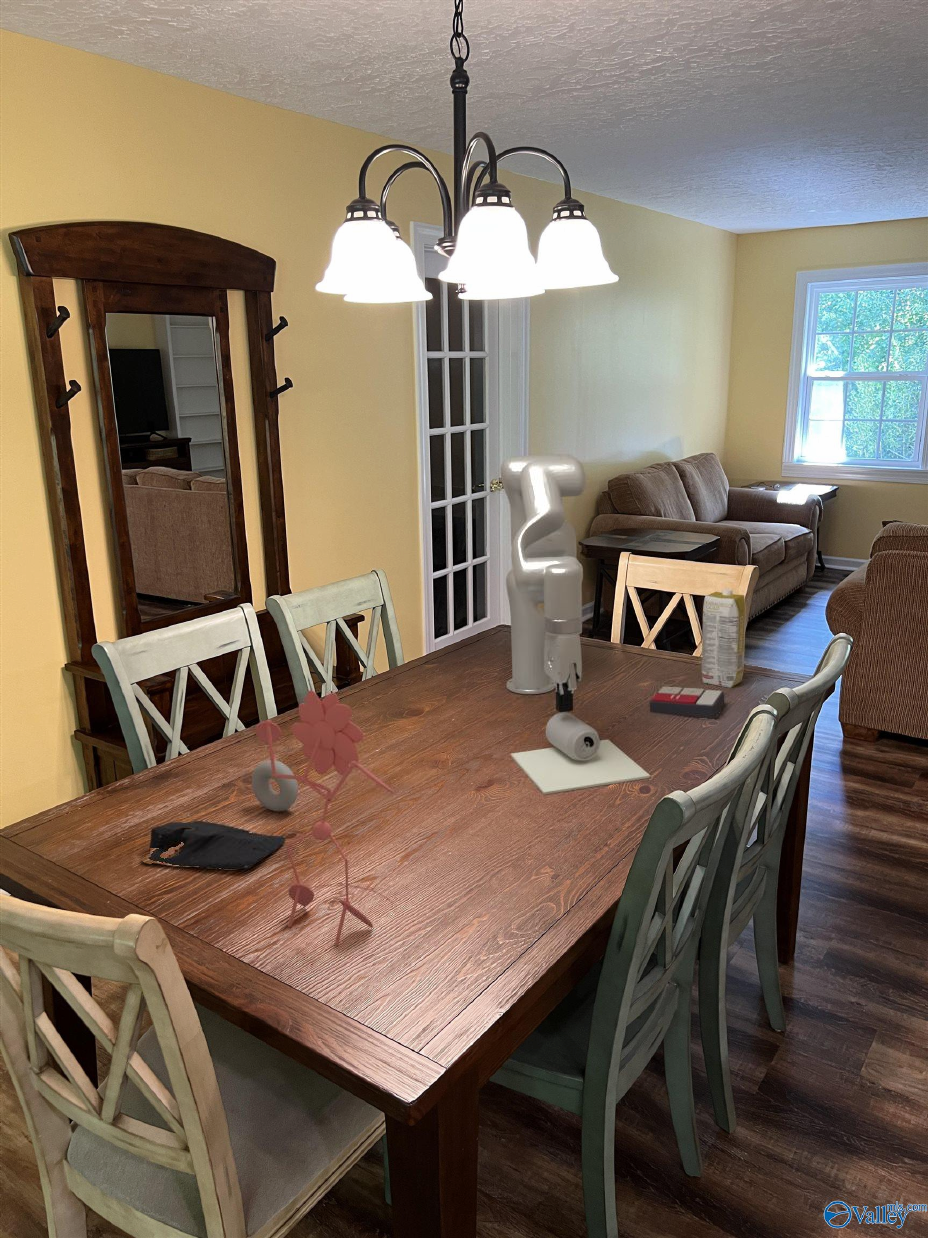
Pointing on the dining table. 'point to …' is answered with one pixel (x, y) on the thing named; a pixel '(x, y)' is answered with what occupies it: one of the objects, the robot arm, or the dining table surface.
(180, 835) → the crumpled black cloth
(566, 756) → the mat
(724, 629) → the juice carton
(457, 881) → the dining table surface
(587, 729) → the can
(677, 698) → the gray and red box
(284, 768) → the donut
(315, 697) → the pink wire flower sculpture
